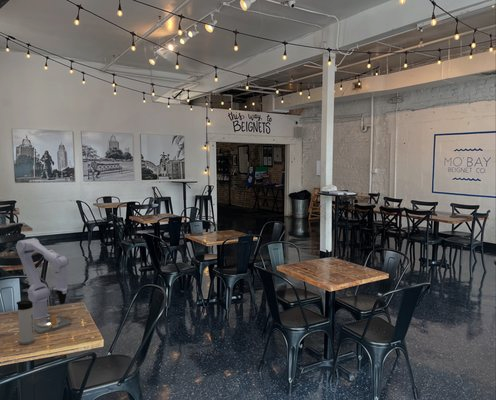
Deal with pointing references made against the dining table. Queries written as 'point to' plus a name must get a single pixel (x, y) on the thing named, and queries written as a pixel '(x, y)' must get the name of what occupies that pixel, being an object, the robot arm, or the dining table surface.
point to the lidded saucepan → (49, 322)
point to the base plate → (47, 329)
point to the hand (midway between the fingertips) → (62, 303)
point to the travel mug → (25, 322)
